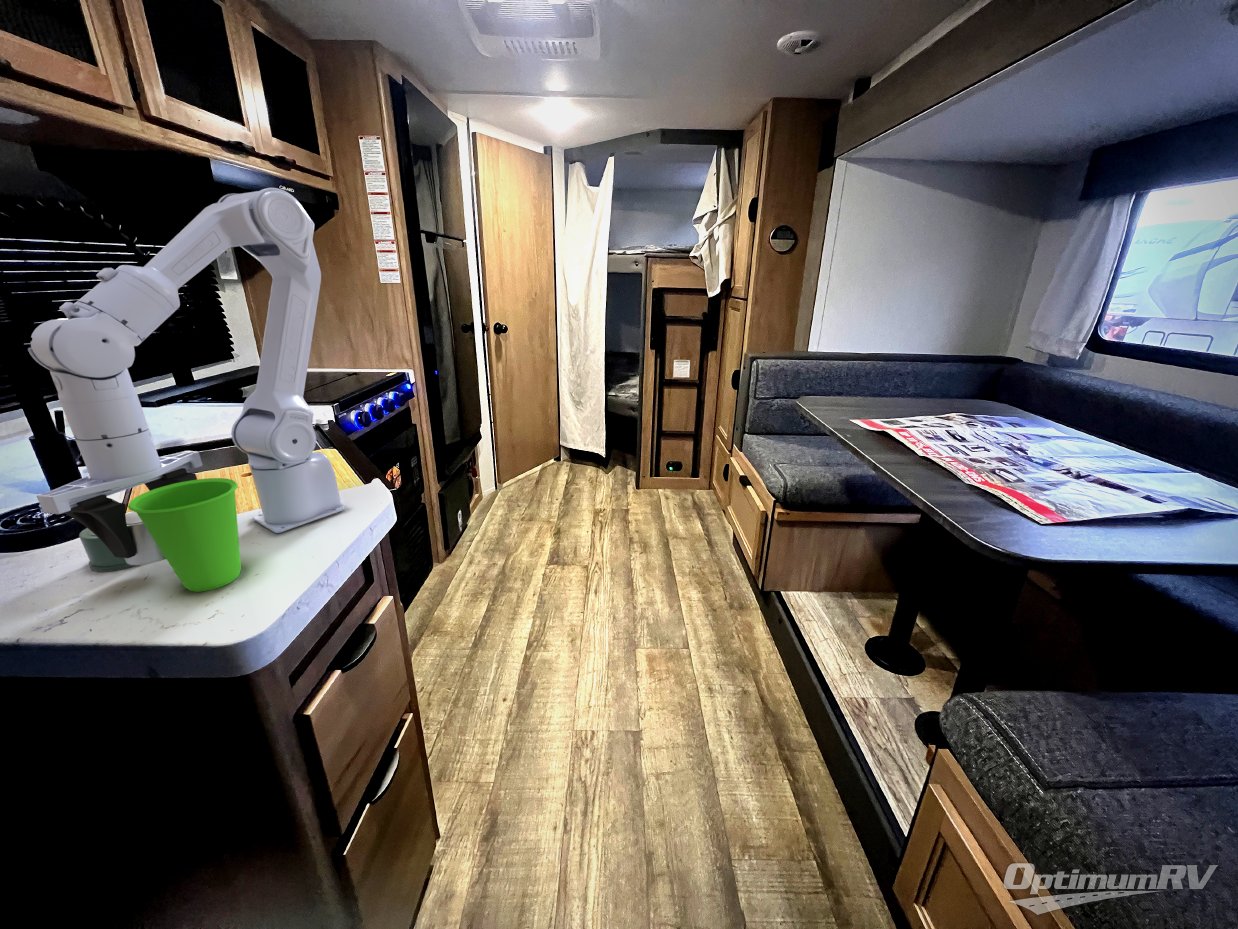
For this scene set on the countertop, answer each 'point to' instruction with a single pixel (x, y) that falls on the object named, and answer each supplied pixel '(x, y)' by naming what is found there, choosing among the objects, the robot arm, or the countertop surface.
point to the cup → (195, 530)
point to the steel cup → (142, 542)
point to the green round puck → (100, 554)
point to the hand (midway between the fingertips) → (154, 543)
